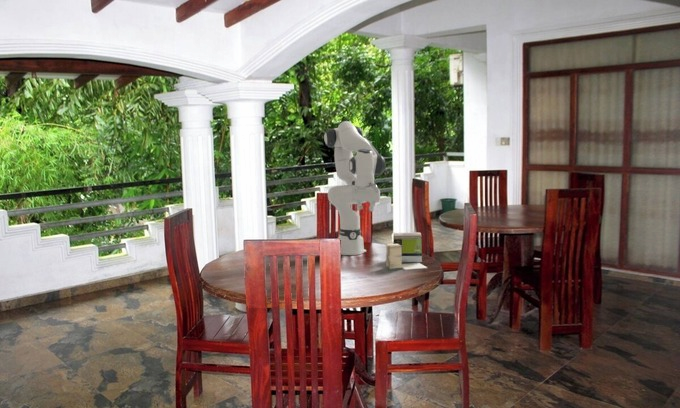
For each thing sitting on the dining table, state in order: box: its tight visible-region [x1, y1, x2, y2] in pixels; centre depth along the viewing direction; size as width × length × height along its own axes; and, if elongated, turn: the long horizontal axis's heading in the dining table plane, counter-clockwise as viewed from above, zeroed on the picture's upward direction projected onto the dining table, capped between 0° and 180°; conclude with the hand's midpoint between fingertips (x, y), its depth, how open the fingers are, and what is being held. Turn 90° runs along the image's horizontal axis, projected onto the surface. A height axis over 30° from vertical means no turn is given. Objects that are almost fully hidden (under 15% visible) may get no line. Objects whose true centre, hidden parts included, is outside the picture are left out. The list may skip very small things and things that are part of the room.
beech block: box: [385, 243, 403, 271], centre depth 300 cm, size 6×6×12 cm
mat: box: [402, 262, 428, 271], centre depth 303 cm, size 11×12×1 cm
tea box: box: [392, 231, 423, 263], centre depth 316 cm, size 15×10×15 cm, turn 84°
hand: (365, 210), depth 293 cm, fingers open, 8 cm apart
